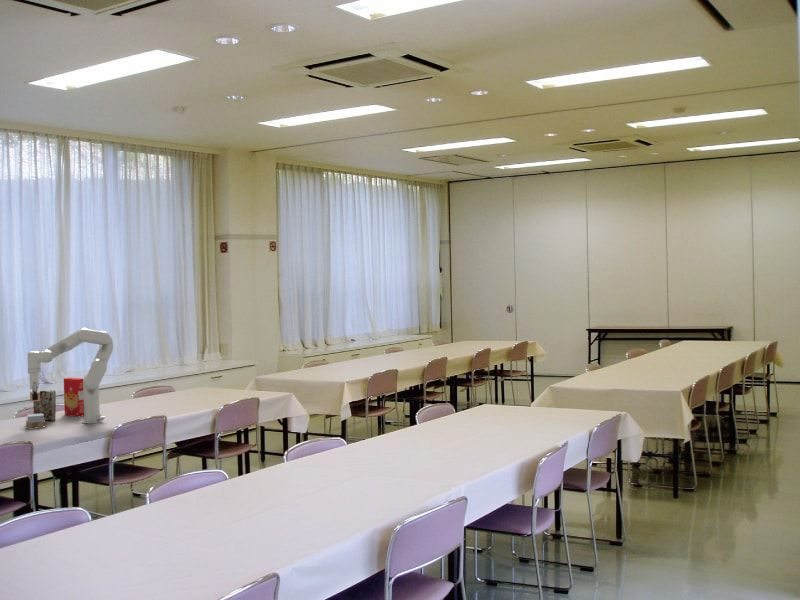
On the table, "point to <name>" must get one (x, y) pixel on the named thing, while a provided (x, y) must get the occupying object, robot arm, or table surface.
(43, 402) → the stone block
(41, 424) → the tower base slab
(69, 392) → the food packaging
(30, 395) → the terracotta cube
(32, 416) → the tower top slab
